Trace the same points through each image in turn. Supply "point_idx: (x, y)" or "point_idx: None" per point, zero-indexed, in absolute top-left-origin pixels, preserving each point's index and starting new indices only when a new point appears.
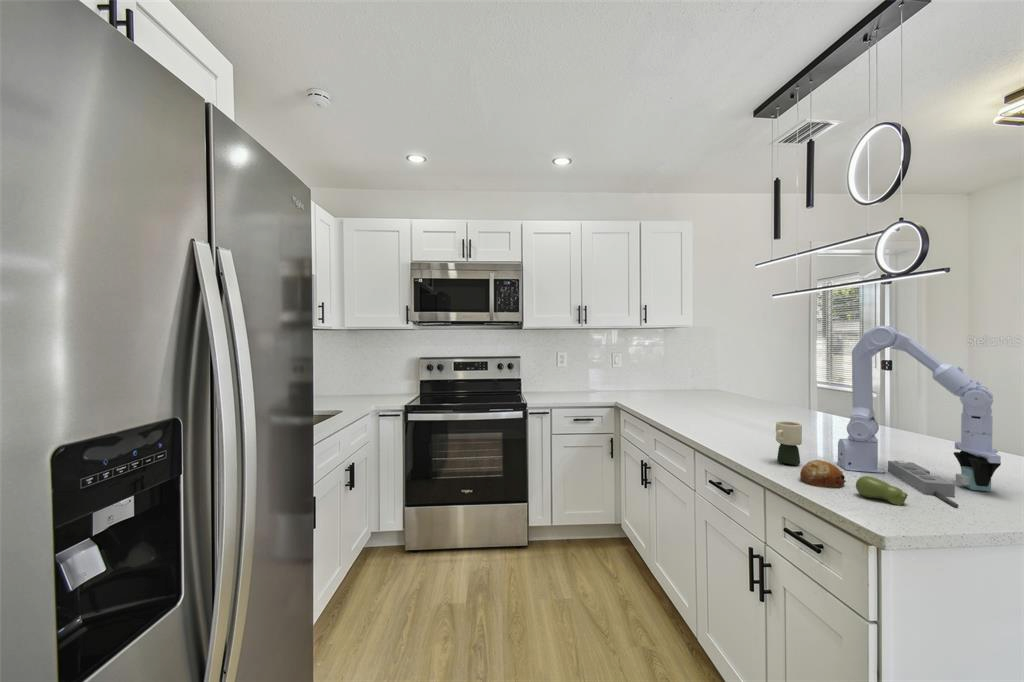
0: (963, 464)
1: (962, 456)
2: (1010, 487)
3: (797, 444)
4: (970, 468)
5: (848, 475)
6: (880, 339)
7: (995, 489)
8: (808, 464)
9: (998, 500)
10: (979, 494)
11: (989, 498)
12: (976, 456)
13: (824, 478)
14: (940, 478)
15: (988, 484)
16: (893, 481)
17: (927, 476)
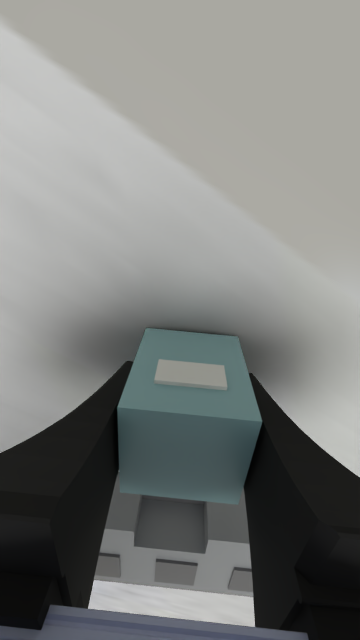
0: (110, 495)
1: (88, 586)
2: (90, 127)
3: None
4: (174, 480)
5: (127, 599)
6: None
7: (170, 270)
8: None
9: (357, 379)
10: (273, 398)
11: (328, 396)
12: (70, 532)
13: None
14: (249, 550)
15: (258, 381)
16: None
17: (234, 576)
